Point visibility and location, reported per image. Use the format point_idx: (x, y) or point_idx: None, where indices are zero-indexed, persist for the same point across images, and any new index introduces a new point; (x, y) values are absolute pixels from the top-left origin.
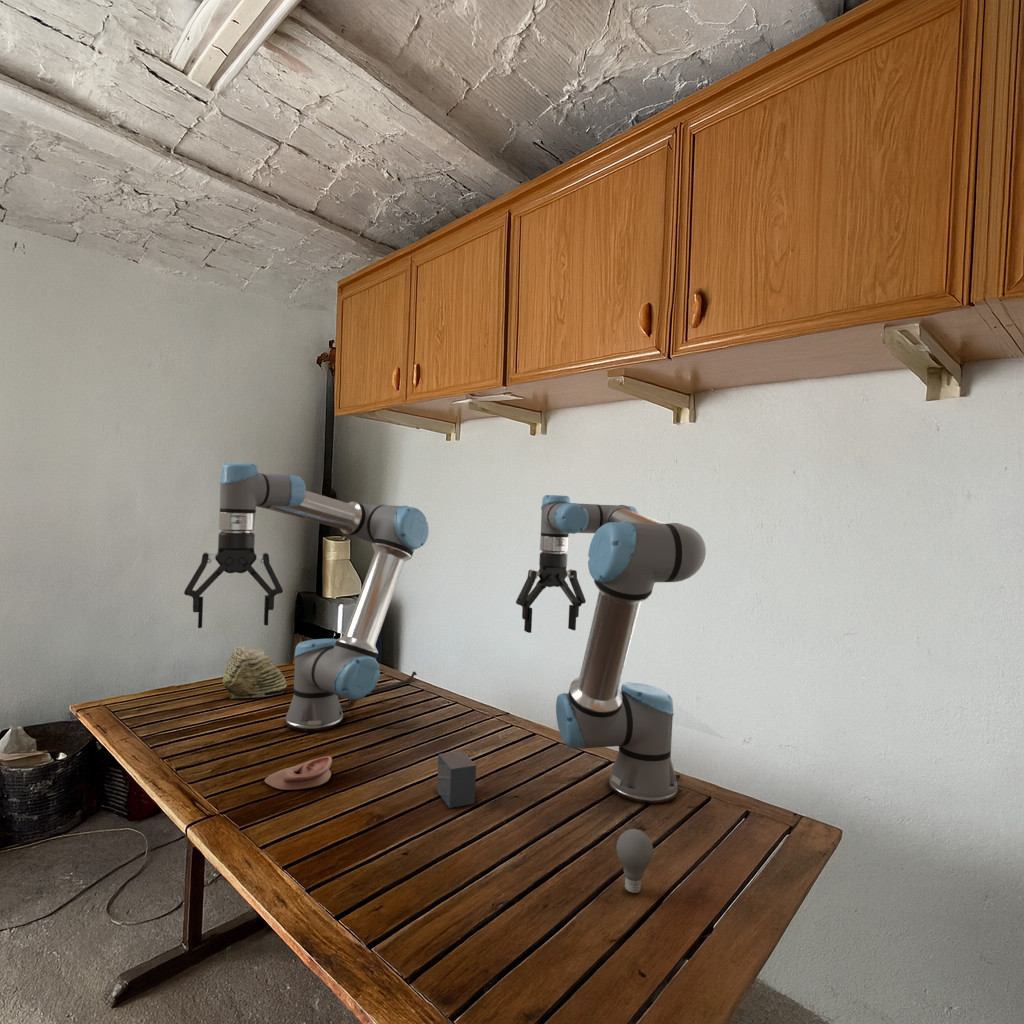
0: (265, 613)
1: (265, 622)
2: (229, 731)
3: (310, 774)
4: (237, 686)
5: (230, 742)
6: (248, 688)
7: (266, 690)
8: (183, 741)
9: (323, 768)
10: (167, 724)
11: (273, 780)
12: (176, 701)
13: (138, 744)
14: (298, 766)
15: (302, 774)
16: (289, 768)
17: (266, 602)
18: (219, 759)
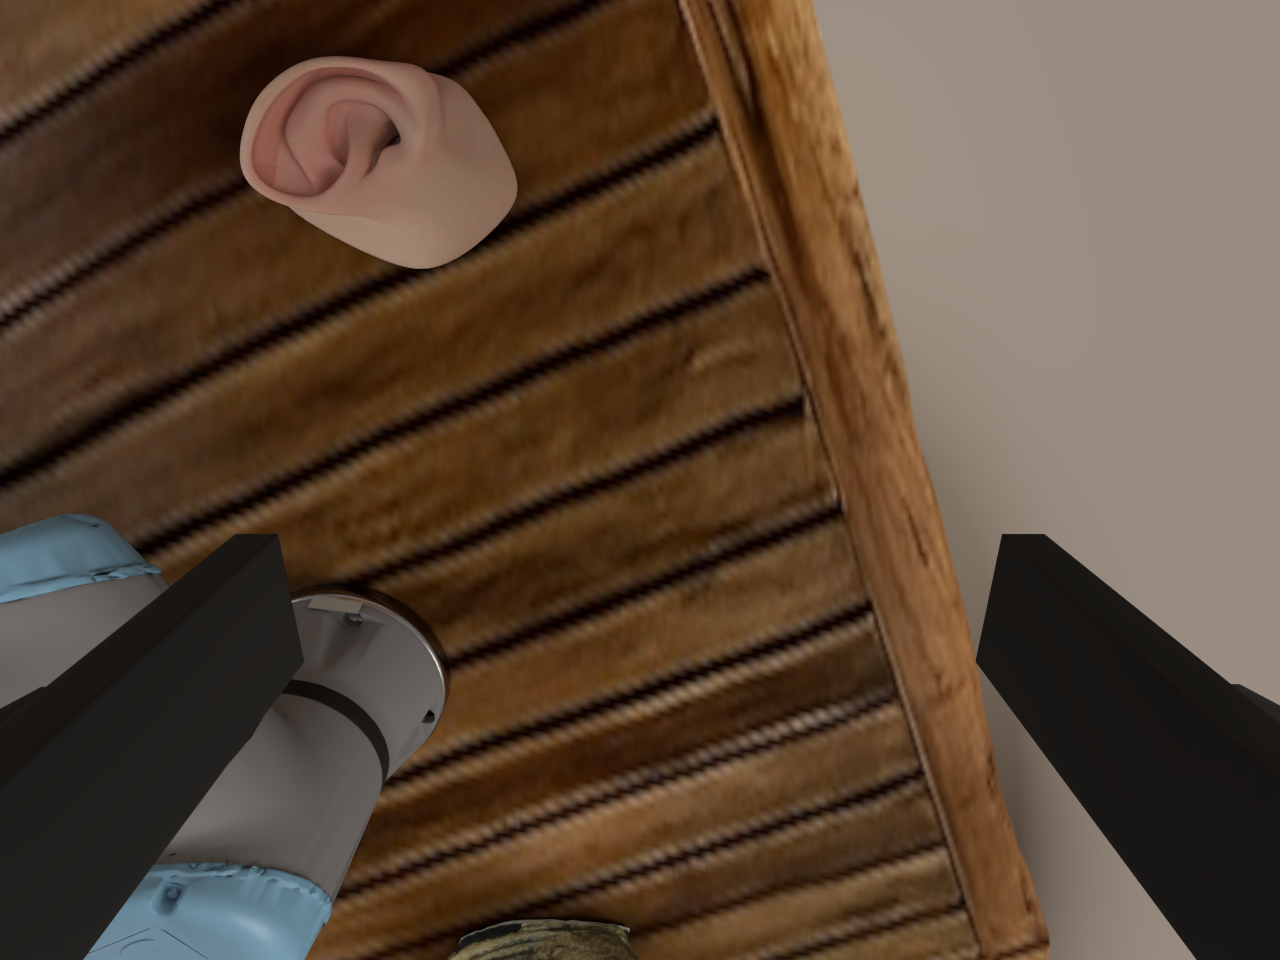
0: (175, 618)
1: (247, 552)
2: (633, 671)
3: (333, 79)
4: (606, 955)
5: (630, 579)
6: (570, 948)
7: (512, 941)
8: (775, 629)
9: (276, 95)
10: (818, 775)
11: (482, 145)
12: (787, 942)
13: (905, 643)
14: (381, 169)
15: (365, 90)
16: (416, 163)
17: (17, 745)
18: (667, 446)
